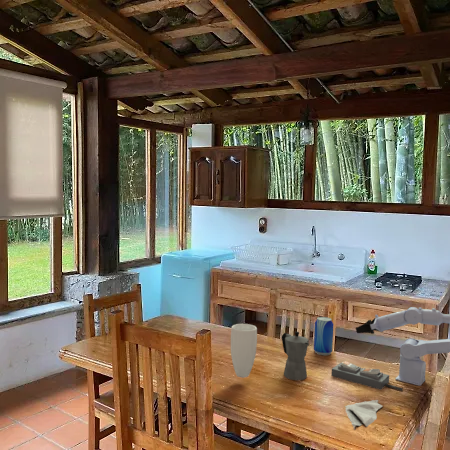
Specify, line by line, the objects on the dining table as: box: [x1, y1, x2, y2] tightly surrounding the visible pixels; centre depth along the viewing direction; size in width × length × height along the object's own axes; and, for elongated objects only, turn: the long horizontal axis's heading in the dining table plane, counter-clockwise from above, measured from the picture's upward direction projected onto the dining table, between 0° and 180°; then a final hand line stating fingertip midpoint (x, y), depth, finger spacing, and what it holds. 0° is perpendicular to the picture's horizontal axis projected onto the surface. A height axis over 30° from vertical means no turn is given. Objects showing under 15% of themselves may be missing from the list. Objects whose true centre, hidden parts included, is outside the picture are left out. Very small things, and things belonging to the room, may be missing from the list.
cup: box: [230, 323, 258, 378], centre depth 176 cm, size 10×10×22 cm
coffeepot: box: [281, 331, 310, 381], centre depth 186 cm, size 15×9×18 cm, turn 33°
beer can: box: [313, 316, 334, 356], centre depth 214 cm, size 8×8×16 cm
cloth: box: [344, 399, 384, 430], centre depth 155 cm, size 26×14×2 cm, turn 135°
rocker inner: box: [362, 368, 381, 374], centre depth 181 cm, size 6×4×1 cm, turn 53°
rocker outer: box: [341, 360, 359, 370], centre depth 186 cm, size 6×4×1 cm, turn 52°
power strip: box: [331, 362, 404, 392], centre depth 182 cm, size 26×9×4 cm, turn 53°
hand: (359, 329), depth 195 cm, fingers open, 7 cm apart
